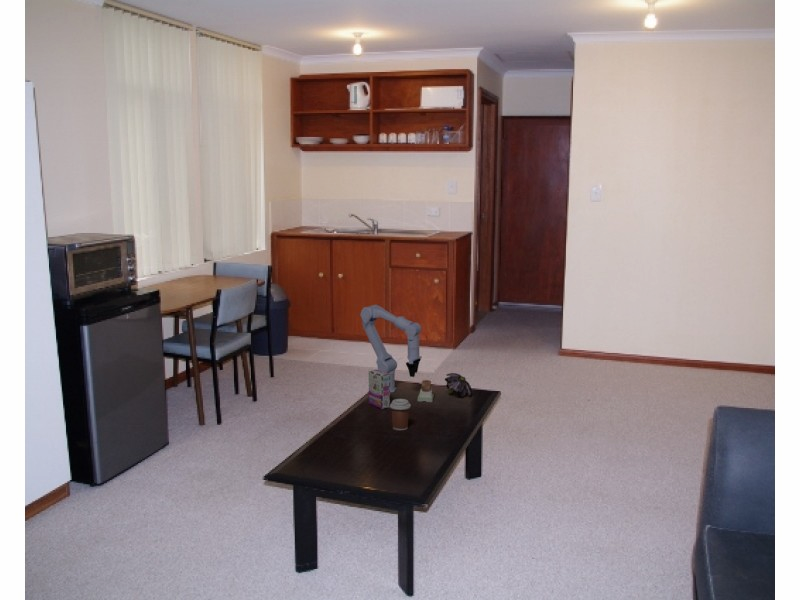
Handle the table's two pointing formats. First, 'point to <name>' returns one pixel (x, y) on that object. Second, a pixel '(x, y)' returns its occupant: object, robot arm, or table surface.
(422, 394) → the off-white top block
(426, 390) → the terracotta cylinder
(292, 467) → the table surface
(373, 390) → the candy bar box
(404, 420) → the coffee cup
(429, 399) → the sage base block
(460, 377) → the decorative flower
